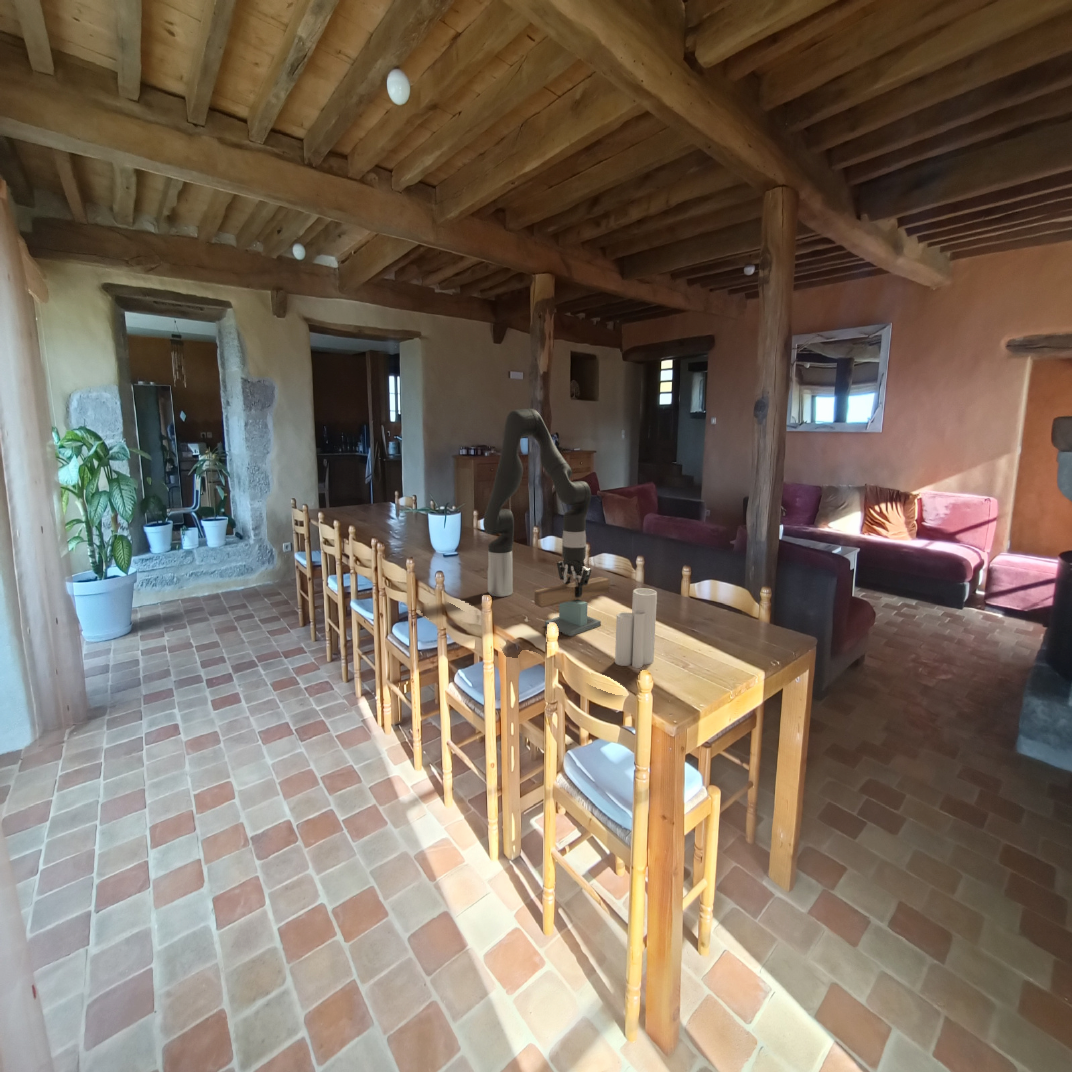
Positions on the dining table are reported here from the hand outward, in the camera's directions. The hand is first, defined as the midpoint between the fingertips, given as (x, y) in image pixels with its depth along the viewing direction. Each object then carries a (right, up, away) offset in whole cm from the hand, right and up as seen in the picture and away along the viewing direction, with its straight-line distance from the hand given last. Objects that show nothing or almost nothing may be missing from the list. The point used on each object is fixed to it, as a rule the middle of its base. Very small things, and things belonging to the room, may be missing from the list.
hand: (573, 595), depth 176 cm
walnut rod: (0, -1, 0) cm, 1 cm away
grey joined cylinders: (+16, -16, -25) cm, 33 cm away
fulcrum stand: (0, -10, +2) cm, 11 cm away
